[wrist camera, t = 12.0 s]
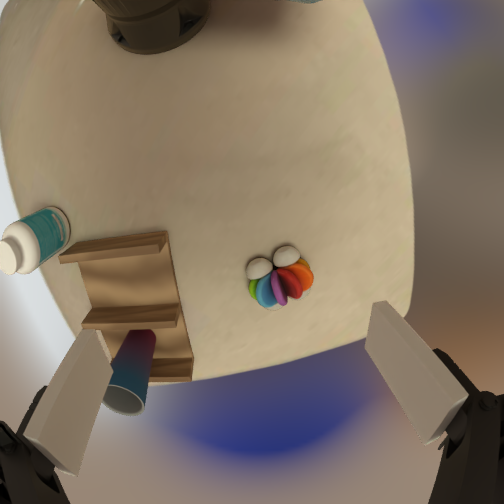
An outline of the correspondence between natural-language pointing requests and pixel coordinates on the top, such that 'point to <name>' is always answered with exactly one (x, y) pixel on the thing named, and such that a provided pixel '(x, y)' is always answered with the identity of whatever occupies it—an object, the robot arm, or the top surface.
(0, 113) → the top surface
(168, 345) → the rack
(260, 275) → the rainbow disc stack
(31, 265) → the pill bottle
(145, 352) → the cup
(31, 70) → the top surface
